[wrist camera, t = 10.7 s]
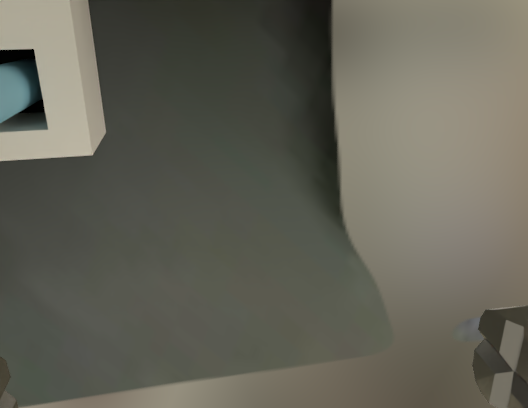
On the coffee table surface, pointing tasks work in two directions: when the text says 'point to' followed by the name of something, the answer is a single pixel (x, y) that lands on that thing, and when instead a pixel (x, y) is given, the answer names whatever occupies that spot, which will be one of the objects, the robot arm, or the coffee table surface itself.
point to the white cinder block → (54, 80)
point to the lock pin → (18, 87)
